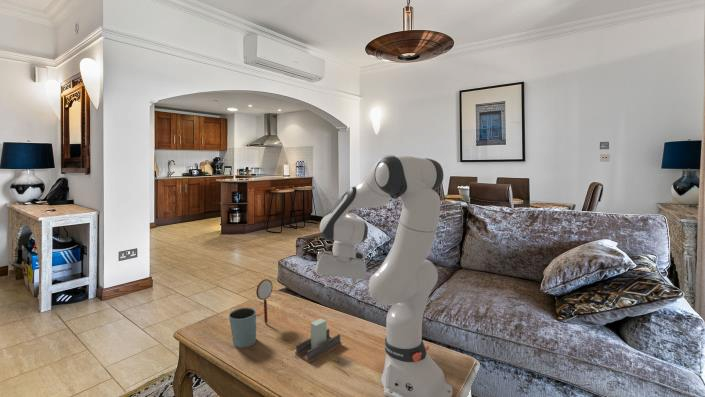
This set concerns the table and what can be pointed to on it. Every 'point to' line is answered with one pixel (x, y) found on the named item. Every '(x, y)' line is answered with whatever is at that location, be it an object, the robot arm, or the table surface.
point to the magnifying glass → (264, 294)
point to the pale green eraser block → (318, 332)
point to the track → (317, 348)
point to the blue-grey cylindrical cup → (243, 327)
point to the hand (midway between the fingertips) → (338, 288)
